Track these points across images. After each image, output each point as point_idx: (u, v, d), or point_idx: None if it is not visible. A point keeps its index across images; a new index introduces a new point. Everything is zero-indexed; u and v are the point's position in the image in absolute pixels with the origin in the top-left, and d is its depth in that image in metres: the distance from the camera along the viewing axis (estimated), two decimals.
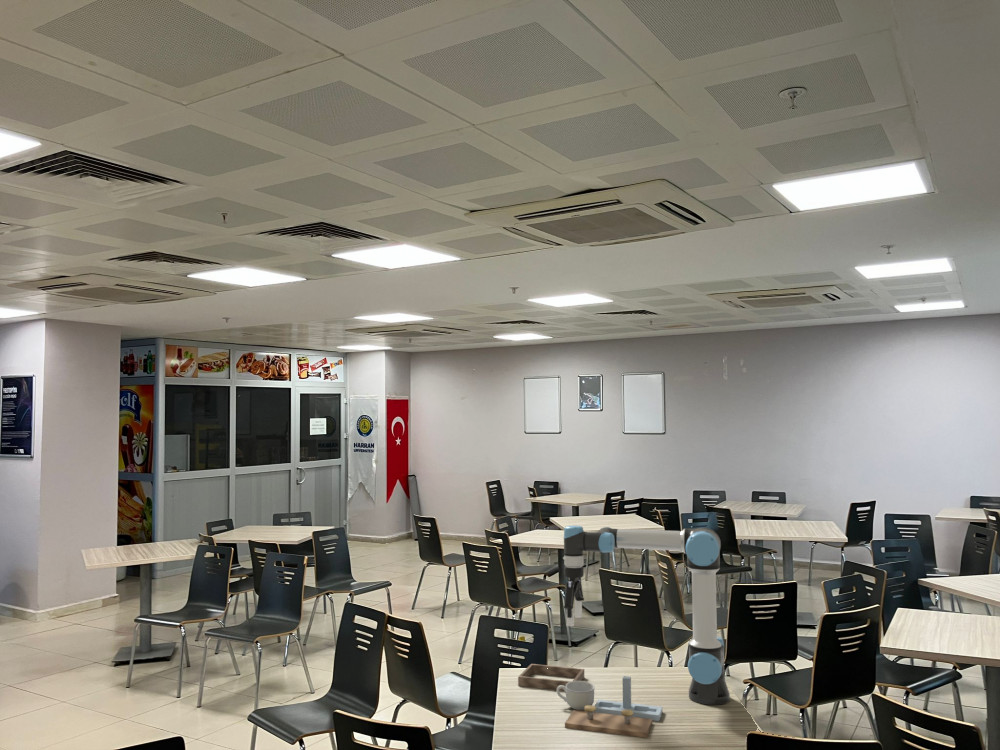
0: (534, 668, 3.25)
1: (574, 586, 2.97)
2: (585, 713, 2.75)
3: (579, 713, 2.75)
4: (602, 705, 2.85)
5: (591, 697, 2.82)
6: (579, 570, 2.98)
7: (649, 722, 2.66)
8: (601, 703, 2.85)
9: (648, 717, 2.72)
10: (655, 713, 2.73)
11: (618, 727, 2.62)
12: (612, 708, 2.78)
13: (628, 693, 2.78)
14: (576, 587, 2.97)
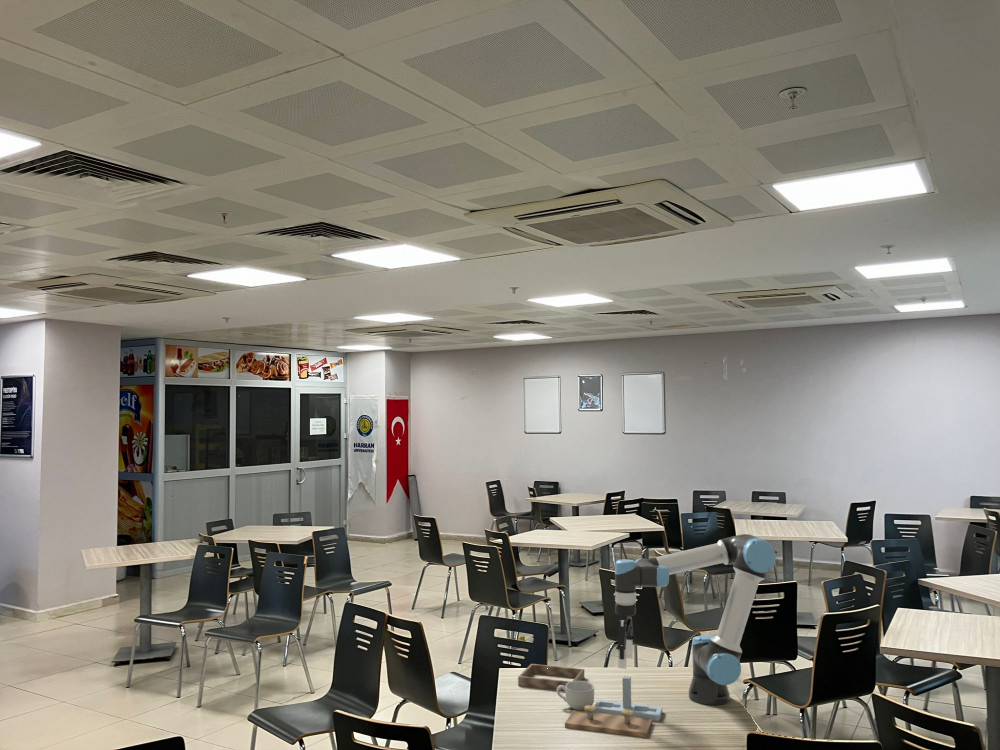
0: (534, 668, 3.25)
1: (626, 625, 2.78)
2: (585, 713, 2.75)
3: (579, 713, 2.75)
4: (602, 705, 2.85)
5: (591, 697, 2.82)
6: (632, 608, 2.79)
7: (649, 722, 2.66)
8: (601, 703, 2.85)
9: (648, 717, 2.72)
10: (655, 713, 2.73)
11: (618, 727, 2.62)
12: (612, 708, 2.78)
13: (628, 693, 2.78)
14: (628, 626, 2.78)
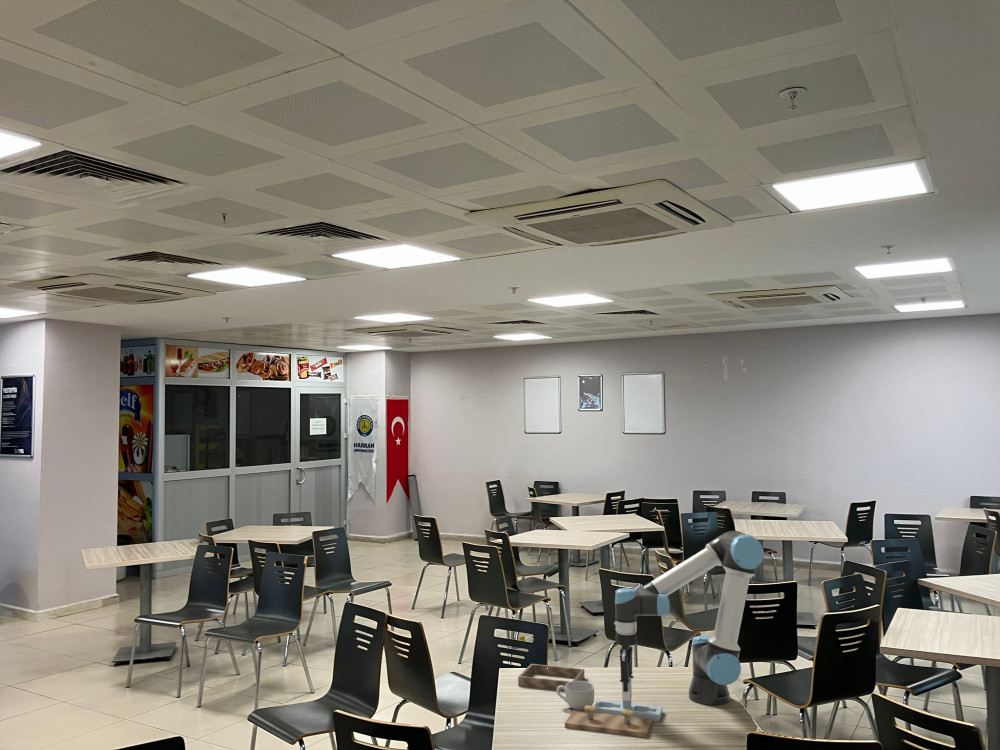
0: (534, 668, 3.25)
1: (627, 655, 2.77)
2: (585, 713, 2.75)
3: (579, 713, 2.75)
4: (602, 705, 2.85)
5: (591, 697, 2.82)
6: (632, 638, 2.78)
7: (649, 722, 2.66)
8: (601, 703, 2.85)
9: (648, 717, 2.72)
10: (655, 713, 2.73)
11: (618, 727, 2.62)
12: (612, 708, 2.78)
13: None
14: (630, 657, 2.78)
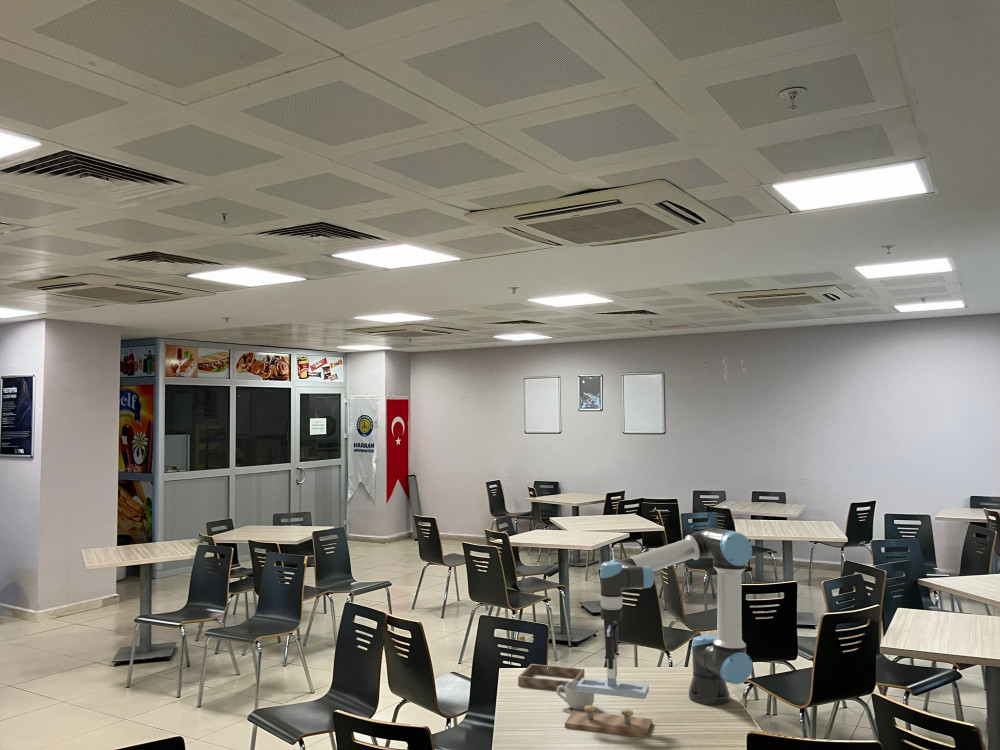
0: (534, 668, 3.25)
1: (612, 630, 2.66)
2: (585, 713, 2.75)
3: (579, 713, 2.75)
4: (586, 683, 2.73)
5: (591, 697, 2.82)
6: (618, 613, 2.67)
7: (649, 722, 2.66)
8: (585, 681, 2.73)
9: (633, 695, 2.61)
10: (641, 691, 2.62)
11: (618, 727, 2.62)
12: (596, 686, 2.67)
13: None
14: (615, 633, 2.67)
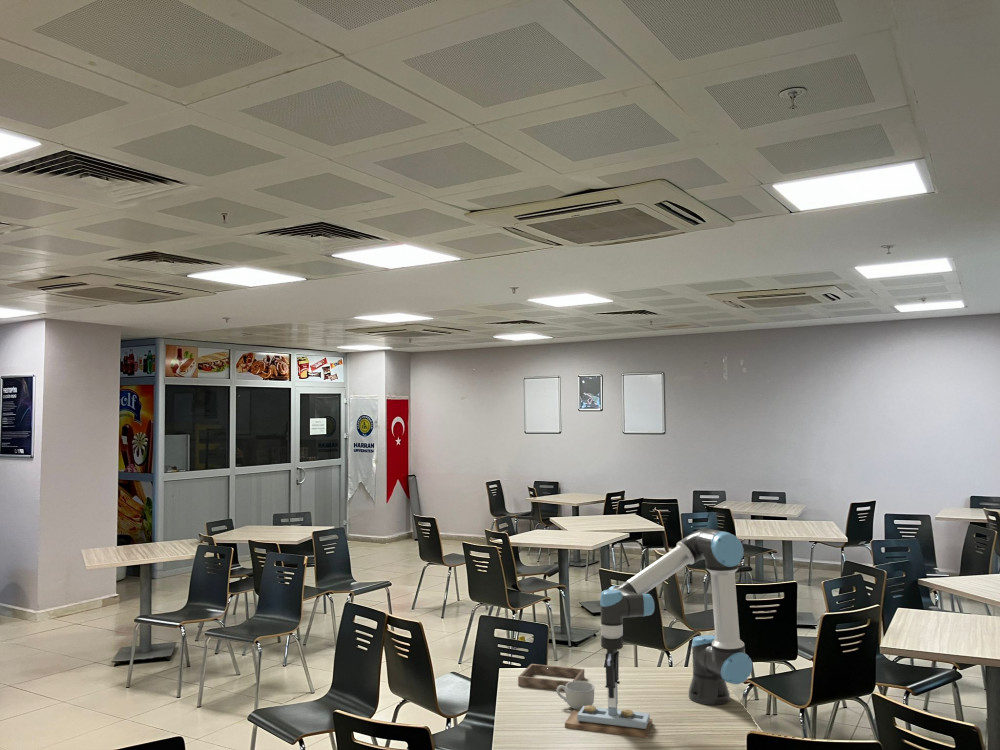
0: (534, 668, 3.25)
1: (613, 659, 2.65)
2: None
3: None
4: None
5: (591, 697, 2.82)
6: (618, 642, 2.66)
7: (649, 722, 2.66)
8: None
9: (634, 724, 2.60)
10: (642, 720, 2.61)
11: (618, 727, 2.62)
12: (597, 715, 2.66)
13: None
14: (615, 662, 2.66)
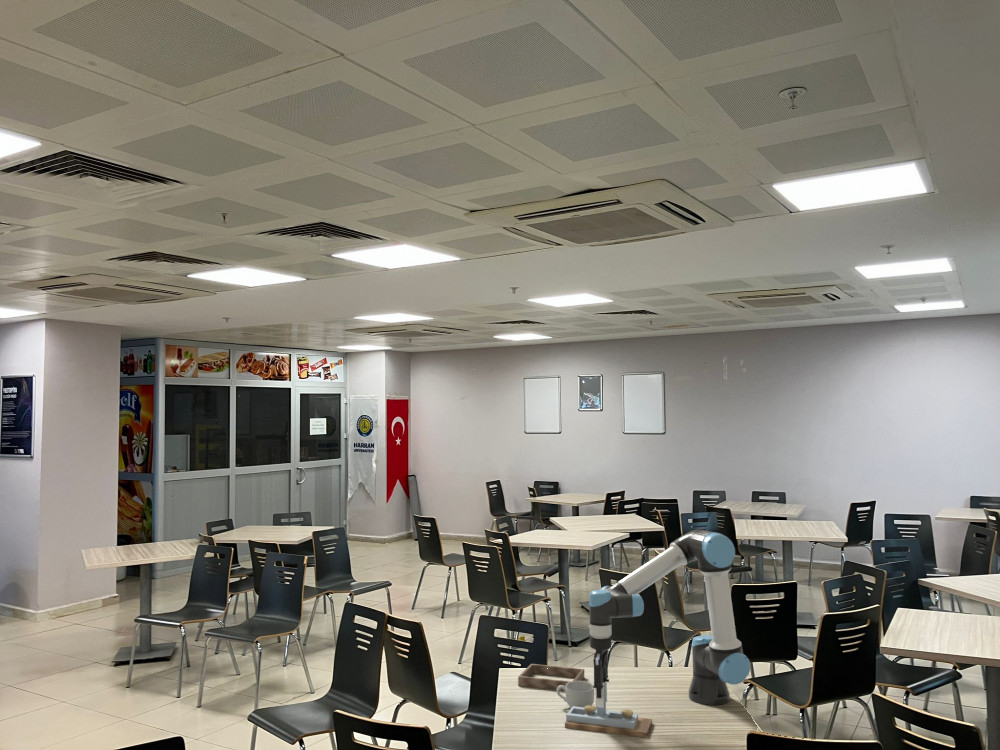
0: (534, 668, 3.25)
1: (601, 659, 2.67)
2: None
3: None
4: (576, 712, 2.74)
5: (591, 697, 2.82)
6: (607, 642, 2.67)
7: (649, 722, 2.66)
8: (575, 710, 2.74)
9: (623, 725, 2.62)
10: (630, 720, 2.62)
11: (618, 727, 2.62)
12: (586, 715, 2.67)
13: None
14: (604, 662, 2.67)
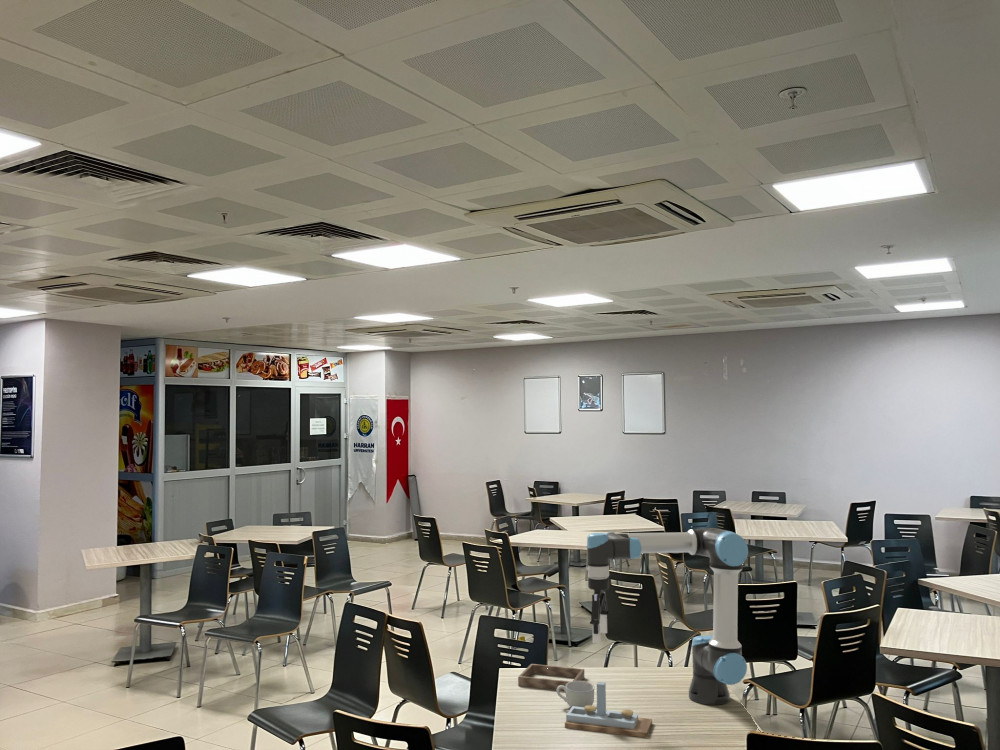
0: (534, 668, 3.25)
1: (600, 599, 2.72)
2: None
3: None
4: (576, 712, 2.74)
5: (591, 697, 2.82)
6: (605, 582, 2.73)
7: (649, 722, 2.66)
8: (575, 710, 2.74)
9: (623, 725, 2.62)
10: (630, 720, 2.62)
11: (618, 727, 2.62)
12: (586, 715, 2.67)
13: (602, 700, 2.67)
14: (602, 600, 2.72)
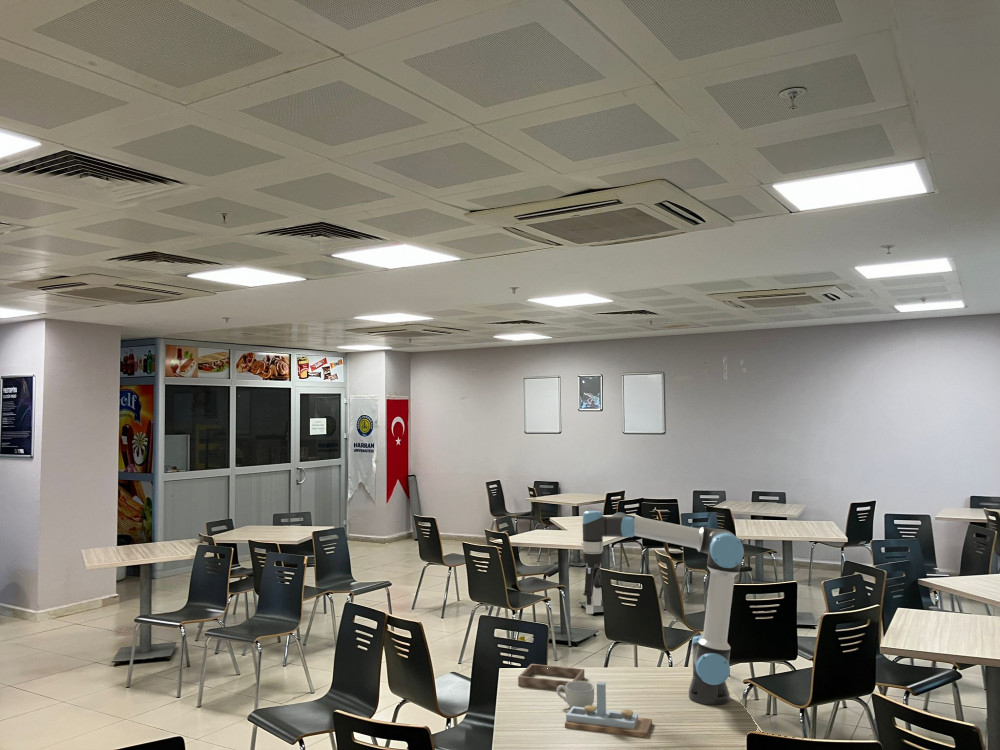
0: (534, 668, 3.25)
1: (593, 573, 2.88)
2: None
3: None
4: (576, 712, 2.74)
5: (591, 697, 2.82)
6: (599, 556, 2.89)
7: (649, 722, 2.66)
8: (575, 710, 2.74)
9: (623, 725, 2.62)
10: (630, 720, 2.62)
11: (618, 727, 2.62)
12: (586, 715, 2.67)
13: (602, 700, 2.67)
14: (595, 574, 2.88)
